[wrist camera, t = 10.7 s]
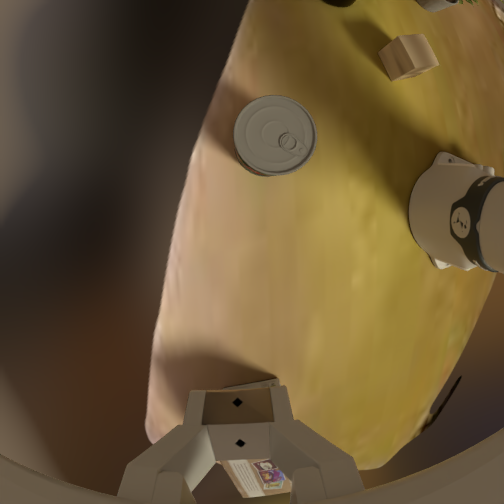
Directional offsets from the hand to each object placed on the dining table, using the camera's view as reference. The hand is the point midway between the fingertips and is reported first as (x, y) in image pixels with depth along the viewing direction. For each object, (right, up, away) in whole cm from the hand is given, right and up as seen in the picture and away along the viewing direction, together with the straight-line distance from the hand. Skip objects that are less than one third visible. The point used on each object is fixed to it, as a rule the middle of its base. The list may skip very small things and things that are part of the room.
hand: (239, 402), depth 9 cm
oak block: (+22, +33, +25) cm, 47 cm away
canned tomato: (+2, +18, +28) cm, 33 cm away
